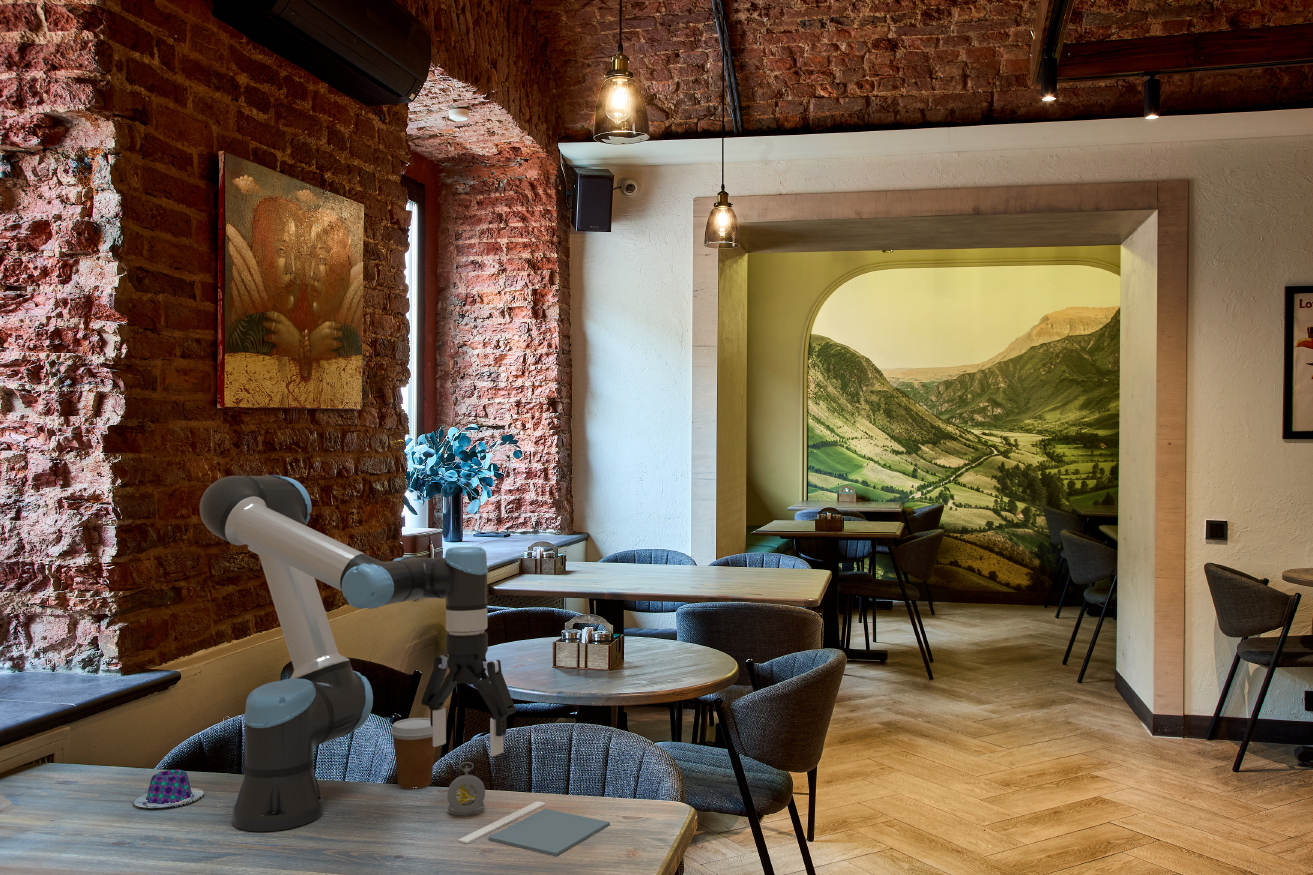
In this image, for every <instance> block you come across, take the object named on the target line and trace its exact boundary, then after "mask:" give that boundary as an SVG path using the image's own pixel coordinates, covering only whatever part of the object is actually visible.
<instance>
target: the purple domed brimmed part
mask: <svg viewBox="0 0 1313 875" xmlns="http://www.w3.org/2000/svg"><path fill="white" fill-rule="evenodd" d="M188 776H189V775H188V773H187V771H185V770H182V769H168V770H164V771H160V772H157V773H156V774H154V775H153V776H152V777H151V778H150V782H149V785H148V789H147V796H146V800H148V801H147V802H148V803H157V804H164V803H169V802H170V803H175V802H179V801H182V800H184V799H187V798H190V797H191V794H192V791H191V788H192V787H191V784H190V780H189V777H188ZM194 788H195V789H198V788H197V787H194ZM201 791H203V790H202V789H201ZM203 794H205V793H203ZM202 797H203V796H201V798H202ZM191 798H192V797H191ZM199 799H200V798H198V799H196V800H194V801H193V802H195V801H197V800H199ZM184 803H185V804H184V805H187V804H186V802H184ZM190 803H192V801H191V802H189V803H188V804H190ZM182 804H183V803H182ZM182 804H181V805H180V806H183V805H182ZM176 807H179V806H178V805H177V806H176Z"/></svg>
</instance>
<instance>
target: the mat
mask: <svg viewBox="0 0 1313 875" xmlns="http://www.w3.org/2000/svg"><path fill="white" fill-rule="evenodd" d="M610 825H611V823H610V821H608V820H607V821H606V820H602V819H596V818H593V817H587V816H584V815H577V814H573V813H568V812H563V811H558V810H553V809H550V808H544V809H542V810H539V811H537V812H535V813H534V814H531V815H530V816H528V817H526V818H524V819H521V820H520V821H518V822H515V823H514V824H511V825H510V826H508V827H506V828H503V829H501V830H500V831H498V832H496V833H494V834H492V835H490V836H488V837H487V838H488V841H492V842H496V843H499V844H503V843H504V845H506V846H507V845H508V846H512V847H516V848H520V849H524V850H529V851H531V852H537V853H542V854H546V855H548V856H549V855H550V856H555V857H557V856H559V855H561V854H563V853H564V851H565V852H566V851H568V850H570V849H571V848H573V847H575V846H576V845H578V844H580V843H582V842H583V841H585V840H586V839H588V838H590V837H592V836H594V835H595V834H597V833H599V832H600V831H602V830H604V829H605V828H607V827H608V826H610ZM598 831H599V832H598ZM593 834H594V835H593ZM581 841H582V842H581ZM569 848H570V849H569Z"/></svg>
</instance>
